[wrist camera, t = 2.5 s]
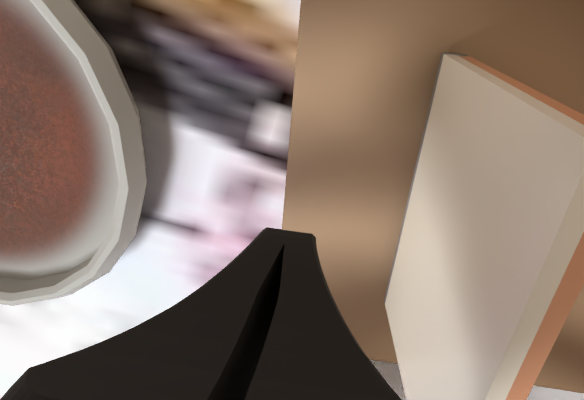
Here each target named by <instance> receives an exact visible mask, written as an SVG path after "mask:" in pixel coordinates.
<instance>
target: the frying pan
mask: <svg viewBox="0 0 584 400" xmlns="http://www.w3.org/2000/svg"><path fill="white" fill-rule="evenodd" d="M145 169H146V161H145V153H144V146H143V138H142V131H141V123H140V116H139V109H138V107H137V105H136V103H135V100H134V98H133V96H132V94H131V91H130V89H129V87H128V84H127V82H126V80H125V78H124V75H123V73H122V71H121V69H120V66H119V64H118V62H117V60H116V57H115V55H114V53H113V50H112V48H111V47H110V46H109V45H108V43H107V42H106V41H105V39H104V38H103V37H102V36H101V34H100V33H99V32H98V31H97V29H96V28H95V27H94V25H93V24H92V23H91V22H90V20H89V19H88V18H87V16H86V15H85V14H84V13H83V11H82V10H81V9H80V8H79V6H78V5H77V4H76V2H75V1H74V0H0V304H4V305H19V304H25V303H31V302H37V301H43V300H49V299H55V298H59V297H63V296H66V295H70V294H73V293H75V292H76V291H78V290H80V289H81V288H83V287H85V286H86V285H88V284H90V283H92V282H93V281H95V280H97V279H98V278H100V277H102V276H103V275H105V274H107V273H109V272H110V271H111V269H112V268H113V266H114V265H115V264H116V262H117V261H118V259H119V258H120V257H121V255H122V254H123V252H124V251H125V250H126V248H127V247H128V245H129V244H130V243H131V241H132V240H133V238H134V237H135V236H136V232H137V228H138V223H139V218H140V214H141V209H142V204H143V200H144V195H145V190H146V186H147V179H146V172H145Z"/></svg>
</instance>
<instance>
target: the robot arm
mask: <svg viewBox="0 0 584 400" xmlns="http://www.w3.org/2000/svg"><path fill="white" fill-rule="evenodd" d="M0 400H401V399H400V397H399V396H398V395H397V394H396V393H395V392H394V391H393V389H392V388H391V387H390V386H389V385H388V384H387V382H386V381H385V380H384V378H383V377H382V376H381V374H380V373H379V372H378V370H377V369H376V368H375V366H374V365H373V364H372V362H371V361H370V360H369V358H368V357H367V356H366V354H365V353H364V352H363V350H362V349H361V347H360V346H359V344H358V342H357V341H356V339H355V338H354V336H353V335H352V333H351V331H350V330H349V328H348V326H347V324H346V323H345V321H344V319H343V317H342V315H341V313H340V311H339V309H338V307H337V305H336V303H335V301H334V299H333V297H332V294H331V292H330V289H329V287H328V285H327V282H326V279H325V276H324V274H323V271H322V268H321V264H320V261H319V257H318V252H317V247H316V237H315V236H314V235H313V234H311V233H303V232H296V231H288V230H281V229H273V228H266V229H264V230H263V231H262V232H261V233H260V234H259V235H258V236H257V237H256V238H255V239H254V240H253V241H252V242H251V243H250V244H249V246H247V247H246V248H245V249H244V250H243V251H242V252H241V253H240V254H239V255H238V256H237V257H236V258H235V259H234V260H233V261H232V262H231V263H230V264H228V265H227V266H226V267H225V268H224V269H223V270H222V271H220V272H219V273H218V274H217V275H215V276H214V277H213V278H212V279H210V280H209V281H208V282H207V283H205V284H204V285H203V286H202V287H200V288H199V289H198V290H196V291H195V292H193V293H192V294H191V295H189V296H188V297H186V298H185V299H183V300H182V301H180V302H179V303H177V304H176V305H174V306H172V307H171V308H169V309H167V310H165V311H164V312H162V313H160V314H158V315H156V316H154V317H152V318H151V319H149V320H147V321H145V322H143V323H141V324H140V325H138V326H136V327H134V328H131V329H129V330H127V331H125V332H123V333H121V334H119V335H116V336H114V337H112V338H109V339H107V340H105V341H102V342H100V343H98V344H95V345H93V346H90V347H88V348H85V349H83V350H80V351H77V352H74V353H72V354H69V355H66V356H63V357H60V358H57V359H55V360H52V361H49V362H46V363H43V364H40V365H37V366H34V367H31V368H29V369H28V370H27V371H26V372H25V373H24V374H23V375H22V376H21V377H20V378H19V379H18V380H17V381H16V382H15V383H14V384H13V385H12V387H11V388H10V389H9V390H8V391H7V392H6V393H5V395H4V396H3V397H2V398H1V399H0Z"/></svg>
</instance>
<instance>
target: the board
mask: <svg viewBox="0 0 584 400" xmlns="http://www.w3.org/2000/svg"><path fill="white" fill-rule="evenodd" d="M442 52H455V53H461V54H466V55H468V56H470V57H472V58H474V59H476V60H478V61H480V62H482V63H484V64H486V65H488V66H490V67H492V68H493V69H495V70H497V71H499V72H501V73H503V74H505V75H507V76H509V77H511V78H513V79H515V80H517V81H519V82H521V83H523V84H525V85H527V86H529V87H531V88H532V89H534V90H536V91H538V92H540V93H542V94H544V95H546V96H548V97H550V98H552V99H554V100H556V101H558V102H560V103H562V104H564V105H566V106H568V107H570V108H571V109H573V110H575V111H577V112H579V113H581V114H583V115H584V0H301V7H300V19H299V31H298V43H297V55H296V67H295V79H294V91H293V103H292V115H291V127H290V139H289V151H288V163H287V175H286V187H285V199H284V211H283V223H282V230H288V231H296V232H303V233H311V234H313V235H314V236H315V237H316V247H317V252H318V257H319V261H320V264H321V268H322V271H323V274H324V276H325V279H326V282H327V285H328V287H329V289H330V292H331V294H332V297H333V299H334V301H335V303H336V305H337V307H338V309H339V311H340V313H341V315H342V317H343V319H344V321H345V323H346V324H347V326H348V328H349V330H350V331H351V333H352V335H353V336H354V338H355V339H356V341H357V342H358V344H359V346H360V347H361V349H362V350H363V352H364V353H365V354H366V356H367V357H368V358H369V359H371V360H377V361H384V362H390V363H396V364H398V361H397V356H396V352H395V347H394V343H393V338H392V334H391V329H390V325H389V320H388V316H387V311H386V307H385V302H384V298H385V294H386V290H387V285H388V281H389V277H390V272H391V268H392V264H393V259H394V255H395V251H396V247H397V242H398V238H399V234H400V229H401V225H402V221H403V217H404V212H405V208H406V204H407V199H408V195H409V191H410V187H411V182H412V178H413V174H414V169H415V165H416V161H417V157H418V152H419V148H420V144H421V139H422V135H423V131H424V126H425V122H426V118H427V114H428V109H429V105H430V101H431V96H432V92H433V88H434V84H435V79H436V75H437V71H438V66H439V62H440V58H441V54H442ZM534 385H535V386H541V387H547V388H554V389H560V390H566V391H573V392H579V393H584V285H583V287H582V289H581V291H580V293H579V295H578V297H577V299H576V301H575V303H574V305H573V307H572V309H571V311H570V313H569V315H568V317H567V319H566V321H565V323H564V325H563V327H562V329H561V331H560V333H559V335H558V337H557V339H556V341H555V343H554V345H553V347H552V349H551V351H550V353H549V355H548V357H547V359H546V361H545V363H544V365H543V367H542V369H541V371H540V373H539V375H538V377H537V379H536V381H535V383H534Z"/></svg>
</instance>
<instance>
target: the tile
mask: <svg viewBox="0 0 584 400" xmlns="http://www.w3.org/2000/svg"><path fill="white" fill-rule="evenodd" d="M583 285H584V115H583V114H581V113H579V112H577V111H575V110H573V109H571V108H570V107H568V106H566V105H564V104H562V103H560V102H558V101H556V100H554V99H552V98H550V97H548V96H546V95H544V94H542V93H540V92H538V91H536V90H534V89H532V88H531V87H529V86H527V85H525V84H523V83H521V82H519V81H517V80H515V79H513V78H511V77H509V76H507V75H505V74H503V73H501V72H499V71H497V70H495V69H493V68H492V67H490V66H488V65H486V64H484V63H482V62H480V61H478V60H476V59H474V58H472V57H470V56H468V55H466V54H461V53H455V52H442V54H441V58H440V62H439V66H438V71H437V75H436V79H435V84H434V88H433V92H432V96H431V101H430V105H429V109H428V114H427V118H426V122H425V126H424V131H423V135H422V139H421V144H420V148H419V152H418V157H417V161H416V165H415V169H414V174H413V178H412V182H411V187H410V191H409V195H408V199H407V204H406V208H405V212H404V217H403V221H402V225H401V229H400V234H399V238H398V242H397V247H396V251H395V255H394V259H393V264H392V268H391V272H390V277H389V281H388V285H387V290H386V294H385V298H384V302H385V307H386V311H387V316H388V320H389V325H390V329H391V334H392V338H393V343H394V347H395V352H396V356H397V361H398V365H399V370H400V374H401V379H402V383H403V388H404V392H405V397H406V400H526V399H527V397H528V395H529V393H530V391H531V389H532V387H533V385H534V383H535V381H536V379H537V377H538V375H539V373H540V371H541V369H542V367H543V365H544V363H545V361H546V359H547V357H548V355H549V353H550V351H551V349H552V347H553V345H554V343H555V341H556V339H557V337H558V335H559V333H560V331H561V329H562V327H563V325H564V323H565V321H566V319H567V317H568V315H569V313H570V311H571V309H572V307H573V305H574V303H575V301H576V299H577V297H578V295H579V293H580V291H581V289H582V287H583Z"/></svg>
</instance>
